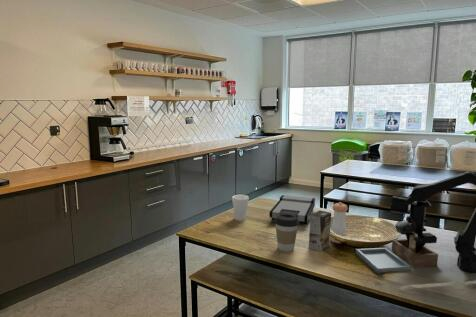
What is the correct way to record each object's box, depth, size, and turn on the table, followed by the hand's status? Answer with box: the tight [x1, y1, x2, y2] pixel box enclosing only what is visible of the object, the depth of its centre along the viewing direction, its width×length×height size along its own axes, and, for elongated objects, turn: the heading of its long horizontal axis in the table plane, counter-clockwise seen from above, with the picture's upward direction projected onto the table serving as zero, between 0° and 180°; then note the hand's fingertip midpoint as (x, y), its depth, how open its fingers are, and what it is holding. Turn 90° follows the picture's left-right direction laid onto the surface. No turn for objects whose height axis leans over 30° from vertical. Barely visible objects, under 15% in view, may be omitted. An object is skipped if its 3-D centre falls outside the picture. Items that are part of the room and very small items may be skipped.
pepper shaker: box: [330, 201, 349, 244], centre depth 165 cm, size 7×7×19 cm
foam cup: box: [231, 194, 250, 222], centre depth 195 cm, size 10×9×13 cm
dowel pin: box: [409, 234, 419, 254], centre depth 146 cm, size 4×4×9 cm
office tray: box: [268, 194, 316, 226], centre depth 201 cm, size 21×32×8 cm, turn 160°
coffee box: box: [308, 210, 332, 252], centre depth 158 cm, size 9×6×16 cm
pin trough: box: [391, 238, 439, 268], centre depth 146 cm, size 16×10×6 cm, turn 8°
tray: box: [355, 247, 412, 275], centre depth 143 cm, size 18×14×2 cm
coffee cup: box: [273, 214, 300, 253], centre depth 156 cm, size 11×11×15 cm
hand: (413, 250), depth 146 cm, fingers closed on dowel pin, 4 cm apart
